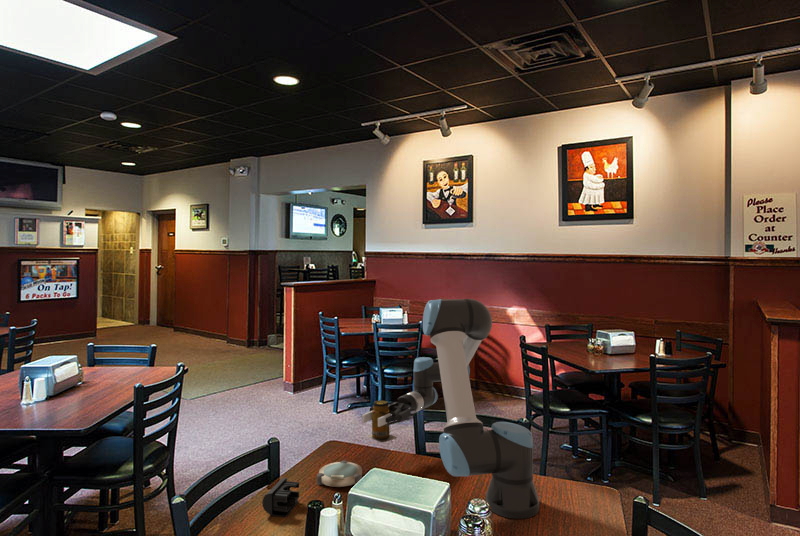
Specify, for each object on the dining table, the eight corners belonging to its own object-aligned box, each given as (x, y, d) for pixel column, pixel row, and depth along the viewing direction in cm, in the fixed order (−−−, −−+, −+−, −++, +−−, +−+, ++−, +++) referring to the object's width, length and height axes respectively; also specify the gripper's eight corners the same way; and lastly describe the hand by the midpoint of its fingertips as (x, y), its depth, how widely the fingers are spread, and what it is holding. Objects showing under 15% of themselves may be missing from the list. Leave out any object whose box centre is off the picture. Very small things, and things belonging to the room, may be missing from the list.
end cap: (277, 499, 141) (277, 476, 141) (299, 501, 140) (299, 478, 140) (261, 516, 131) (261, 492, 131) (285, 518, 130) (285, 494, 130)
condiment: (382, 431, 167) (382, 398, 166) (398, 438, 160) (398, 403, 160) (366, 436, 162) (366, 402, 162) (381, 443, 155) (381, 407, 155)
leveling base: (364, 468, 161) (364, 458, 161) (359, 489, 146) (359, 477, 146) (324, 468, 162) (324, 457, 162) (314, 488, 147) (314, 476, 147)
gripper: (430, 418, 171) (393, 437, 152) (389, 409, 182) (349, 426, 163) (430, 398, 171) (393, 414, 152) (389, 390, 182) (349, 404, 163)
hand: (370, 420), depth 157 cm, fingers closed on condiment, 6 cm apart
